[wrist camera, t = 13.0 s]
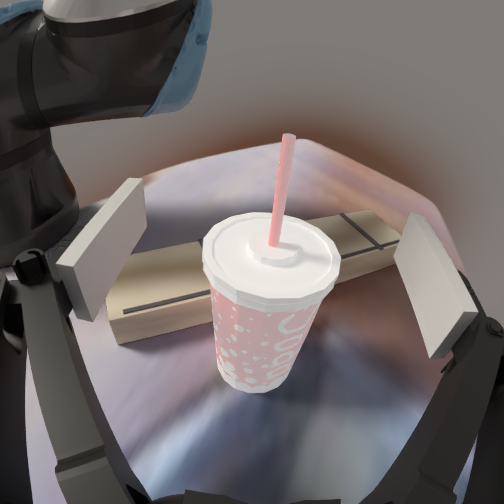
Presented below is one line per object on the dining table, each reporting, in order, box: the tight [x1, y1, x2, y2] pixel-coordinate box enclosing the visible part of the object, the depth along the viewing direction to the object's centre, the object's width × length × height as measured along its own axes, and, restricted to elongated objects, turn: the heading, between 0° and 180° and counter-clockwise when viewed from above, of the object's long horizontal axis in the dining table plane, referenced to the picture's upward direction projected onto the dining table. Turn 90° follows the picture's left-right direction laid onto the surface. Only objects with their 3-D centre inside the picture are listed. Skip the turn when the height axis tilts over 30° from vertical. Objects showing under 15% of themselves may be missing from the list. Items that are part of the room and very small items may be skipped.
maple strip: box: [106, 210, 401, 345], centre depth 25 cm, size 6×26×3 cm, turn 115°
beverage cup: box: [202, 134, 341, 393], centre depth 15 cm, size 6×6×14 cm
